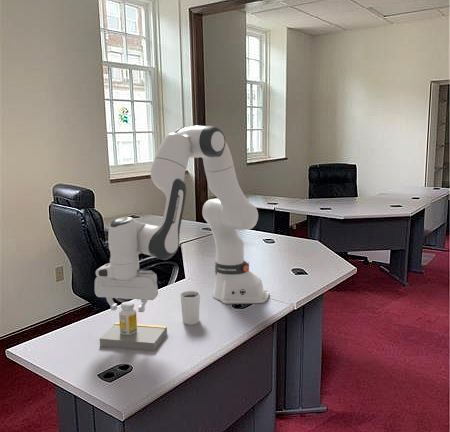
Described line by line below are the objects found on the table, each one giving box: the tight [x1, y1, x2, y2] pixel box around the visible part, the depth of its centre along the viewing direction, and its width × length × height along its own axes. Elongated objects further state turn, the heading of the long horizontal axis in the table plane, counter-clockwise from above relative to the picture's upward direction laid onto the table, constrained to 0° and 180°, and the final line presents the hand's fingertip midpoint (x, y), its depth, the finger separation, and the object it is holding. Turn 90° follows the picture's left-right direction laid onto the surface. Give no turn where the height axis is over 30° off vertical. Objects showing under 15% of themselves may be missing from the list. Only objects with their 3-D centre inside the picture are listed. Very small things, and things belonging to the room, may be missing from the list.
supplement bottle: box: [118, 301, 138, 335], centre depth 147 cm, size 5×5×10 cm
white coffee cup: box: [180, 290, 201, 326], centre depth 161 cm, size 7×7×10 cm
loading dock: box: [99, 321, 168, 352], centre depth 148 cm, size 18×12×3 cm, turn 78°
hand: (127, 310), depth 147 cm, fingers open, 8 cm apart
